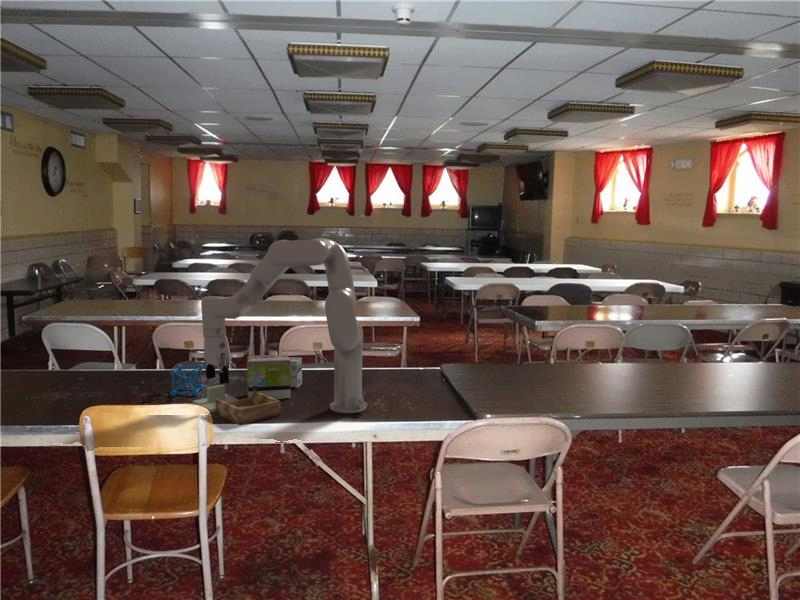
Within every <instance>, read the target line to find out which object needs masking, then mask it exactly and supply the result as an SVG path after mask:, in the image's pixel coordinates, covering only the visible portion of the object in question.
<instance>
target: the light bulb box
mask: <svg viewBox="0 0 800 600" xmlns="http://www.w3.org/2000/svg"><path fill="white" fill-rule="evenodd" d="M288 357H289V356H288ZM289 359H290V362H291V364H290V365H291V367H290V368H291V369H290V382H291V387H295V388H294V389H299V387H300V386H301V385H303V367H302V364H303V362H302V357H289Z"/></svg>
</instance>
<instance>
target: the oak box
mask: <svg viewBox="0 0 800 600" xmlns="http://www.w3.org/2000/svg"><path fill="white" fill-rule="evenodd" d="M215 401H216V413H215V414H216V415H218V416H220V417H222V418H224V419H225V420H228V421H230V422H232V423H234V424H236V425H238V426H244V425H248V424H252V423H256V422H259V421H264V420H267V418H268V419H271V417H272V418H275V417H274V416H276V417H279V416H278V415H280V416H281V415H282V414H281V413H282V411H281V399H275V398H272V397H270V396H267V395H265V394H262V393H260V392H258V391H253V397H249V398H248V397H245V398H241V399H238V400H235V401H231V402H225V401H223V400H220V399H215Z"/></svg>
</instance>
